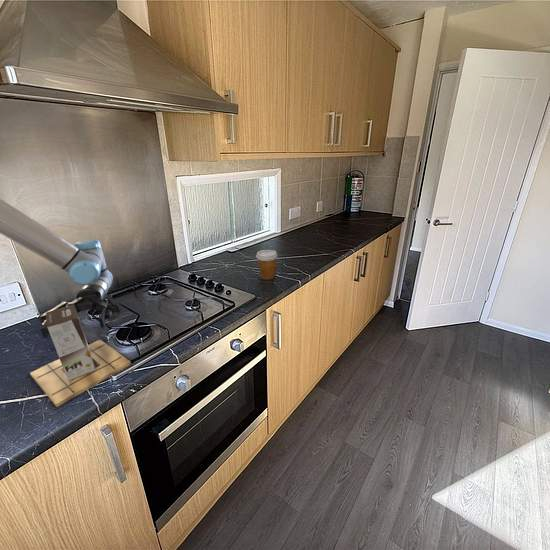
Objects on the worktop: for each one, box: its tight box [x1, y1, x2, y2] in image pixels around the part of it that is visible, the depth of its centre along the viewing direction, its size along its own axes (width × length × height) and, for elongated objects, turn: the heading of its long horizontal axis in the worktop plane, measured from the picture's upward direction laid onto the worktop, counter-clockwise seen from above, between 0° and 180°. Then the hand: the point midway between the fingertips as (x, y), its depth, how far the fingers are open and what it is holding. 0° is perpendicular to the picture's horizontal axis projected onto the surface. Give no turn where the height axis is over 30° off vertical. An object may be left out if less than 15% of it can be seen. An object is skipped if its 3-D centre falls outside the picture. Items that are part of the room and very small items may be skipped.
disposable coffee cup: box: [255, 249, 279, 280], centre depth 131 cm, size 10×10×12 cm
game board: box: [29, 339, 132, 408], centre depth 79 cm, size 18×18×2 cm
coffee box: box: [45, 305, 95, 380], centre depth 76 cm, size 9×6×16 cm
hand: (73, 328), depth 78 cm, fingers open, 13 cm apart
